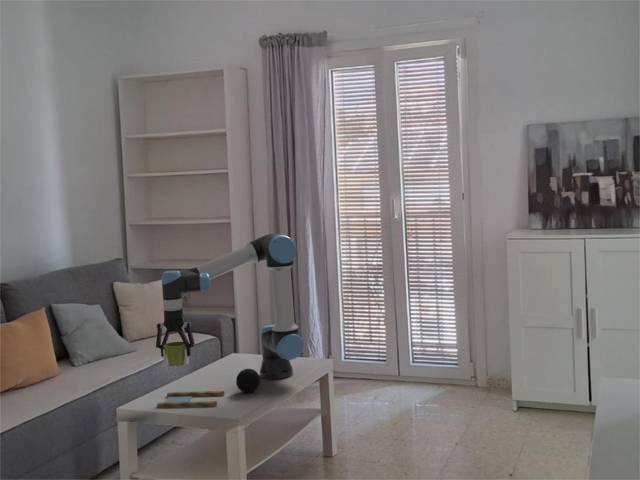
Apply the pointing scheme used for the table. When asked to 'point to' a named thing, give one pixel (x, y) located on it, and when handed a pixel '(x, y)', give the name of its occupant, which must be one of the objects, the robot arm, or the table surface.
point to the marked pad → (178, 399)
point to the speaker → (248, 380)
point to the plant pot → (175, 353)
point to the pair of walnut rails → (191, 404)
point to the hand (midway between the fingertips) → (176, 364)
